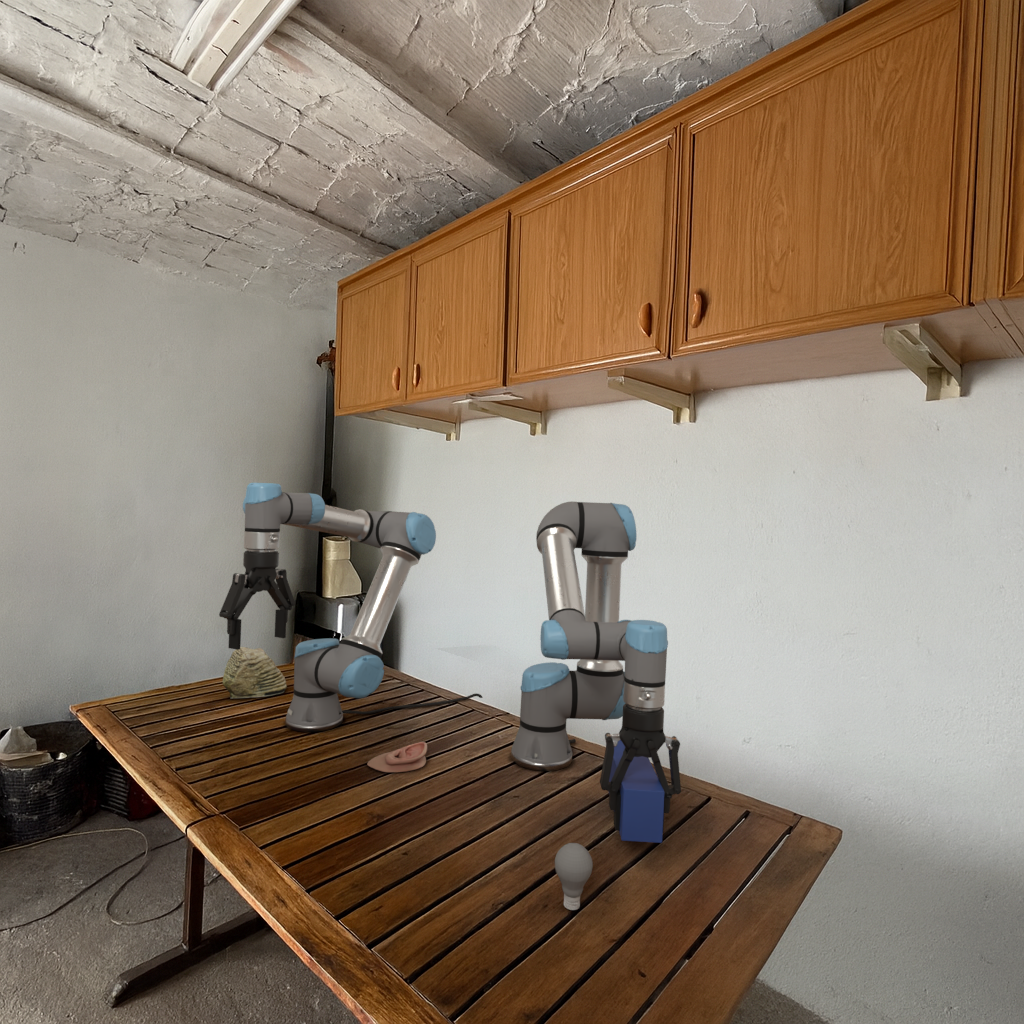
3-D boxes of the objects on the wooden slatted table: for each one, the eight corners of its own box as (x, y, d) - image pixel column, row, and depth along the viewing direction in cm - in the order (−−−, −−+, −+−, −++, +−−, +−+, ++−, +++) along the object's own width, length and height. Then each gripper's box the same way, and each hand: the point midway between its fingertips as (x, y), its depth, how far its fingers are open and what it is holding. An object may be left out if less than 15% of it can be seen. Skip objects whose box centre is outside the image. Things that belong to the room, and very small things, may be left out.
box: (604, 777, 140) (606, 736, 140) (637, 779, 140) (639, 737, 140) (621, 840, 114) (623, 789, 114) (662, 843, 113) (664, 791, 113)
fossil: (218, 695, 195) (220, 647, 195) (278, 685, 208) (279, 640, 207) (228, 703, 189) (230, 653, 188) (289, 692, 201) (290, 645, 201)
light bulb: (550, 895, 103) (552, 835, 103) (586, 895, 104) (589, 835, 104) (555, 920, 97) (558, 856, 97) (594, 919, 98) (597, 855, 98)
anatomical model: (361, 752, 147) (381, 734, 159) (361, 769, 148) (381, 750, 159) (415, 759, 145) (432, 741, 156) (415, 776, 145) (431, 757, 156)
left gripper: (229, 554, 132) (225, 656, 132) (312, 548, 154) (308, 635, 155) (203, 552, 135) (200, 651, 135) (288, 546, 157) (285, 631, 158)
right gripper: (591, 708, 114) (585, 835, 114) (703, 714, 113) (698, 842, 114) (587, 696, 122) (582, 815, 122) (693, 702, 121) (687, 821, 121)
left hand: (258, 642), depth 145 cm, fingers open, 13 cm apart
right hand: (638, 828), depth 118 cm, fingers closed on box, 7 cm apart
